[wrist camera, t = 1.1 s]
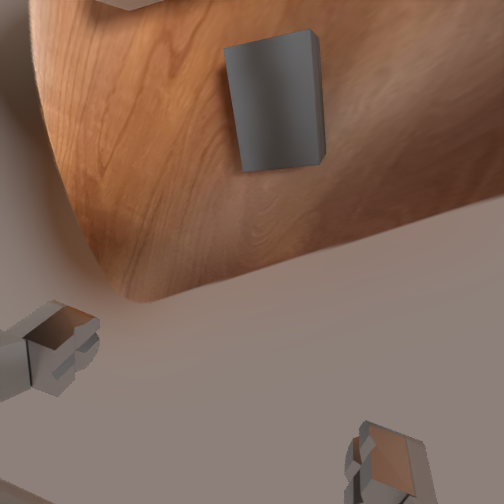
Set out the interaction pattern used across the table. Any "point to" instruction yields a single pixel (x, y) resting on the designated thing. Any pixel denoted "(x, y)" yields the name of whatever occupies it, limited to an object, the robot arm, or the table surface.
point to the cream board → (129, 3)
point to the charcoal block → (278, 101)
